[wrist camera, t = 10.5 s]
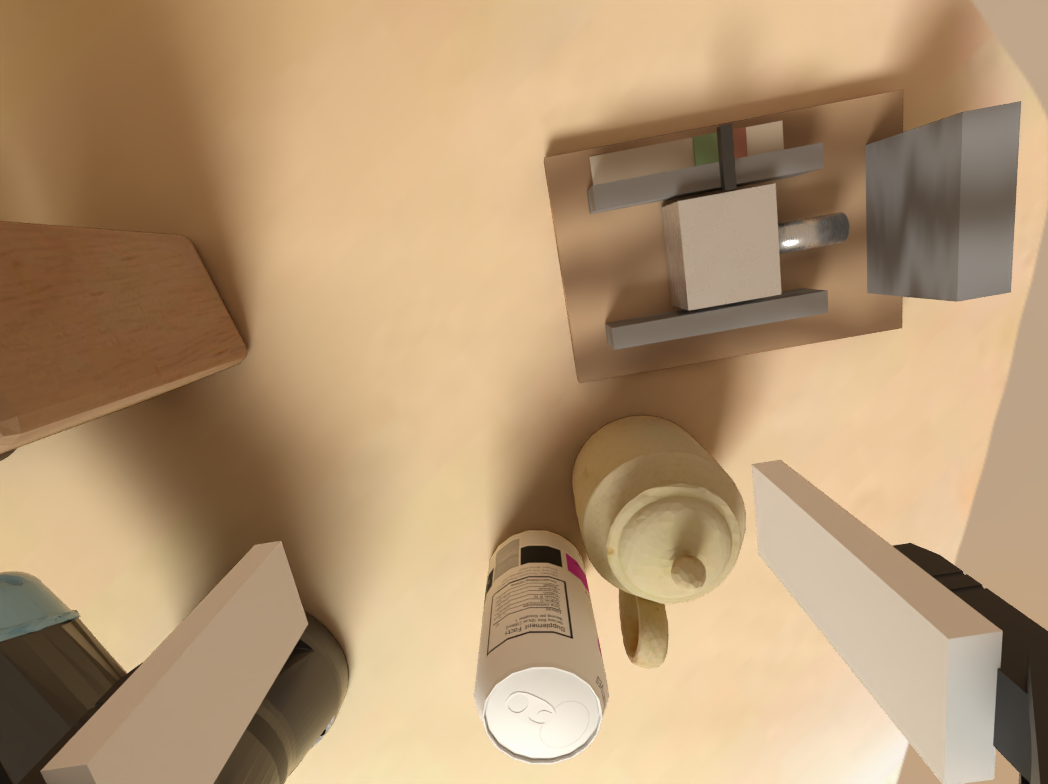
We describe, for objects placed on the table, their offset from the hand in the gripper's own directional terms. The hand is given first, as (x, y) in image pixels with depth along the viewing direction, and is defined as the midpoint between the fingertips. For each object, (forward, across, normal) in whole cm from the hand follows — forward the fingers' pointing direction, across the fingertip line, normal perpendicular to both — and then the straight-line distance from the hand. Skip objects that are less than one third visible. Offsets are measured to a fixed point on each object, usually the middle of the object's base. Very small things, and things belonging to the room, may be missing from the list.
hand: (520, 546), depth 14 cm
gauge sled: (+25, -17, -8) cm, 31 cm away
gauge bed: (+27, -16, -6) cm, 32 cm away
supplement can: (+27, +2, +18) cm, 32 cm away
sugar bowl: (+27, -8, +13) cm, 31 cm away
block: (+27, +26, -8) cm, 38 cm away
